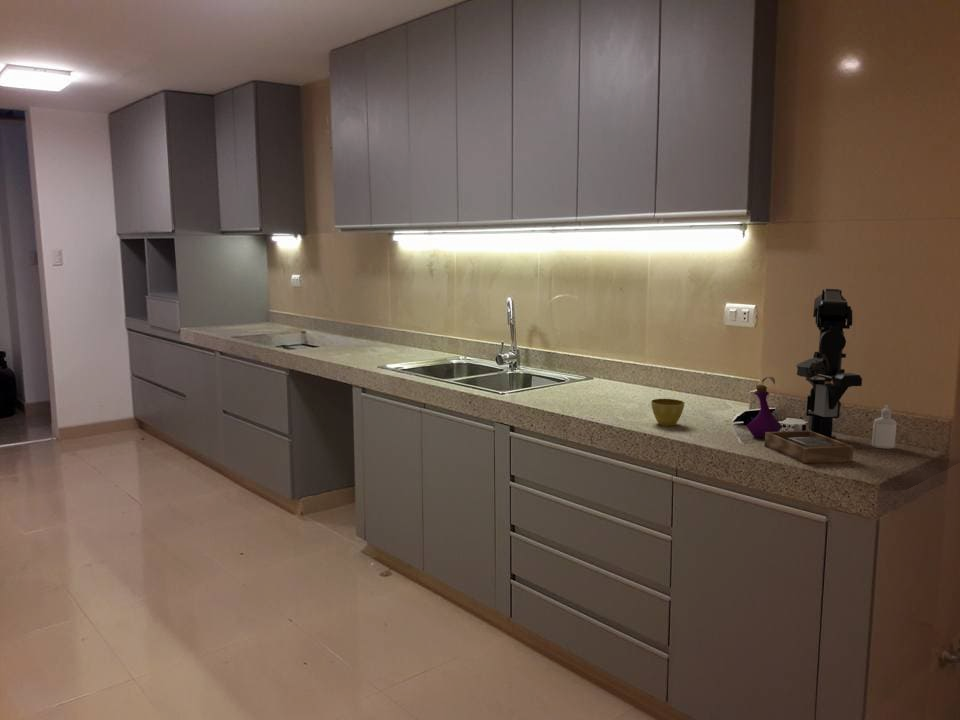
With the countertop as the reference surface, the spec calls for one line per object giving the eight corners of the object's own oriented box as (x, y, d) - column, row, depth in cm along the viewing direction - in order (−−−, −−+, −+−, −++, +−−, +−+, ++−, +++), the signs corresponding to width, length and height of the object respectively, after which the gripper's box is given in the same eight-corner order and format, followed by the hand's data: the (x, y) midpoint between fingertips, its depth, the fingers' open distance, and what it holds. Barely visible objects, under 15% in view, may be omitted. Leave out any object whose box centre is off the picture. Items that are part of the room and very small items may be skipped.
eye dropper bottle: (891, 450, 213) (895, 407, 211) (869, 446, 216) (873, 404, 215) (896, 447, 216) (900, 405, 214) (874, 444, 220) (878, 402, 218)
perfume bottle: (745, 436, 226) (749, 376, 224) (757, 432, 231) (761, 373, 229) (770, 441, 221) (774, 379, 218) (781, 437, 226) (786, 376, 224)
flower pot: (660, 428, 235) (661, 405, 234) (644, 421, 245) (645, 399, 244) (689, 427, 238) (690, 404, 237) (673, 420, 247) (674, 397, 246)
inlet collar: (787, 448, 210) (787, 437, 209) (813, 447, 212) (814, 436, 211) (805, 456, 202) (806, 445, 202) (832, 455, 204) (833, 443, 203)
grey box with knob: (813, 413, 206) (816, 380, 205) (826, 413, 207) (829, 380, 206) (823, 417, 202) (826, 383, 201) (837, 416, 203) (839, 382, 202)
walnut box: (764, 446, 215) (765, 432, 215) (809, 444, 218) (810, 430, 218) (804, 463, 198) (805, 448, 197) (852, 461, 201) (853, 446, 200)
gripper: (781, 345, 209) (777, 401, 212) (827, 354, 191) (822, 416, 194) (817, 344, 212) (813, 400, 214) (866, 353, 194) (860, 414, 196)
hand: (825, 407), depth 204 cm, fingers closed on grey box with knob, 4 cm apart
